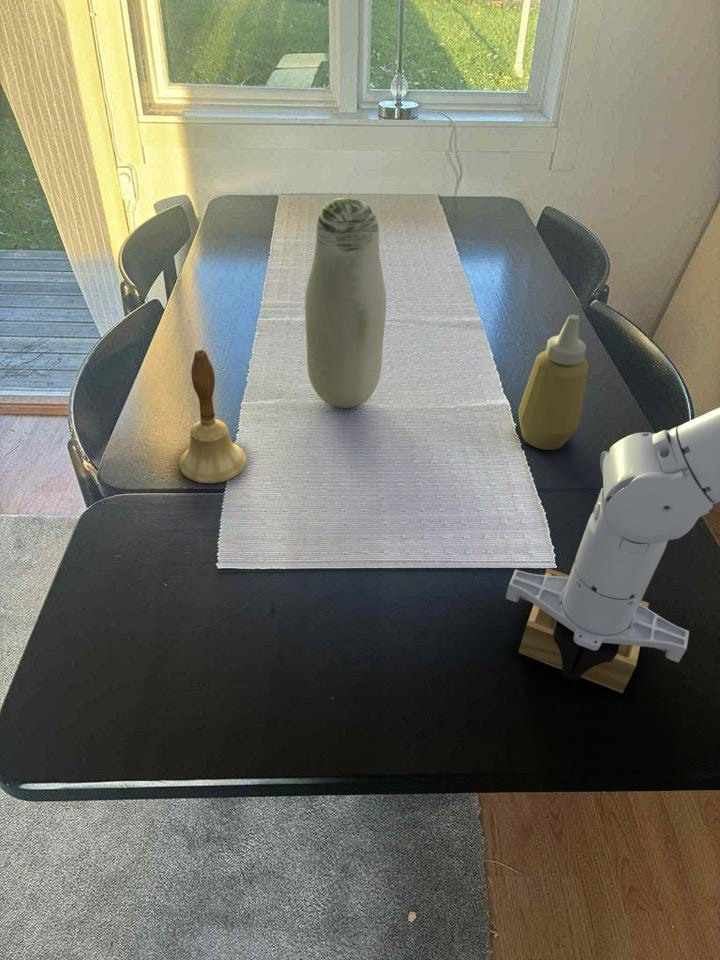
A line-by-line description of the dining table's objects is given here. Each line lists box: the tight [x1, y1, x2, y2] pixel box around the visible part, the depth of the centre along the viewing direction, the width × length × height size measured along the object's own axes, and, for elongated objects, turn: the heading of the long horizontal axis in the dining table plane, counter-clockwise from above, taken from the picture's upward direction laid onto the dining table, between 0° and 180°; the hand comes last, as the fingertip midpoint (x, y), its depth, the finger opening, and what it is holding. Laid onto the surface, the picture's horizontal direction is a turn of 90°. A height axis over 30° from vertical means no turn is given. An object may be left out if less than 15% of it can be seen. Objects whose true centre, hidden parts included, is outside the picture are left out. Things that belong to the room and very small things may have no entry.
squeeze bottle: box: [517, 314, 590, 451], centre depth 89 cm, size 8×8×18 cm
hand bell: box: [179, 349, 247, 484], centre depth 83 cm, size 8×8×16 cm
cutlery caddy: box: [518, 567, 650, 694], centre depth 68 cm, size 8×10×4 cm
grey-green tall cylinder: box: [304, 197, 387, 409], centre depth 91 cm, size 10×10×28 cm
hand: (571, 670), depth 64 cm, fingers closed, pressing on cutlery caddy
